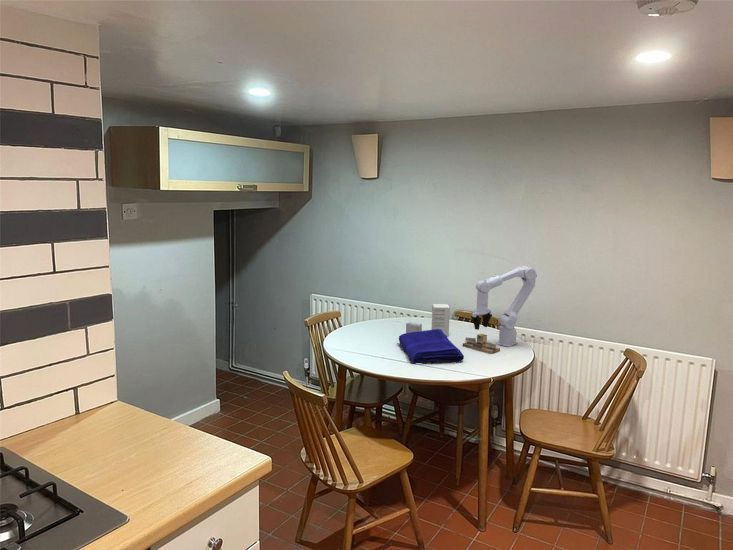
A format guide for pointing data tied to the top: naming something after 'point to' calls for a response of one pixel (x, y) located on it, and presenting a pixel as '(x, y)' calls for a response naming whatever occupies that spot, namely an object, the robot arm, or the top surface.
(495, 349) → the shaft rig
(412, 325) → the medicine box
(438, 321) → the supplement box
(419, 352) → the towel
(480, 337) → the wooden block with knob
